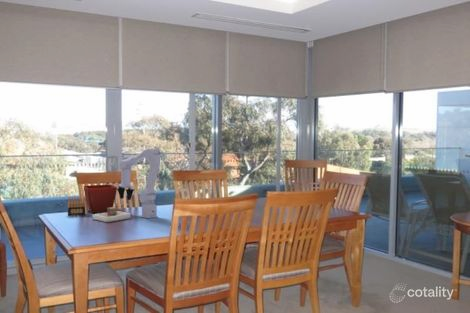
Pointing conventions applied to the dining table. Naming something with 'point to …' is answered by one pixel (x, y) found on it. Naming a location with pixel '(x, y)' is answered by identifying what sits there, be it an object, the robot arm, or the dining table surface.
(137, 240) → the dining table surface
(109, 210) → the walnut block
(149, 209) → the robot arm
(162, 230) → the dining table surface
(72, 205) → the ammunition clip
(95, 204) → the plant pot
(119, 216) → the tray
